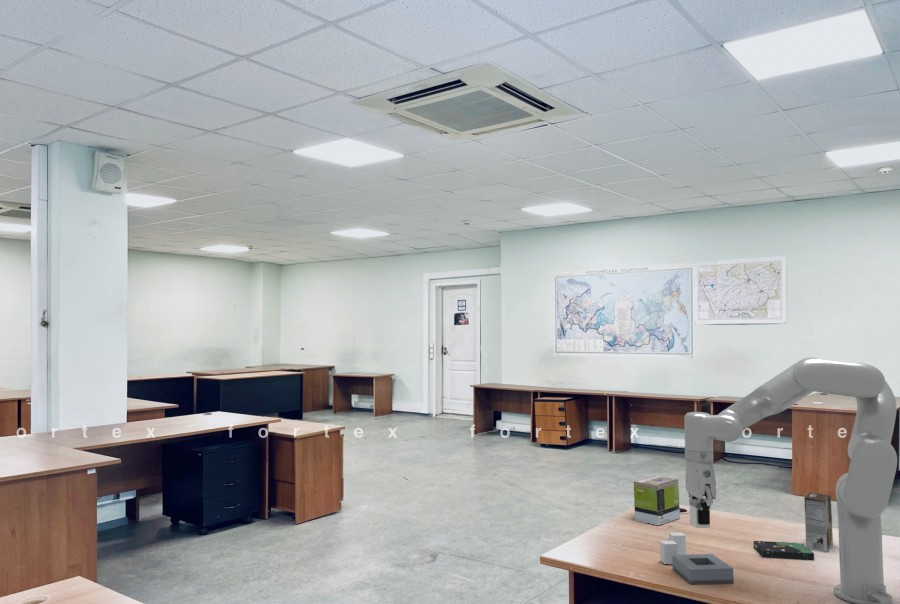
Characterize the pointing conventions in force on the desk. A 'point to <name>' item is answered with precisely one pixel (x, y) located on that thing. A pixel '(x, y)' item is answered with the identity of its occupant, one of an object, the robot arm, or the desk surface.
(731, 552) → the desk surface
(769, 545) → the disk drive
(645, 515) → the tea box
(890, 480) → the robot arm
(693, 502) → the block
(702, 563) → the holder
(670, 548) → the pale grey post pair
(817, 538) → the coffee box
